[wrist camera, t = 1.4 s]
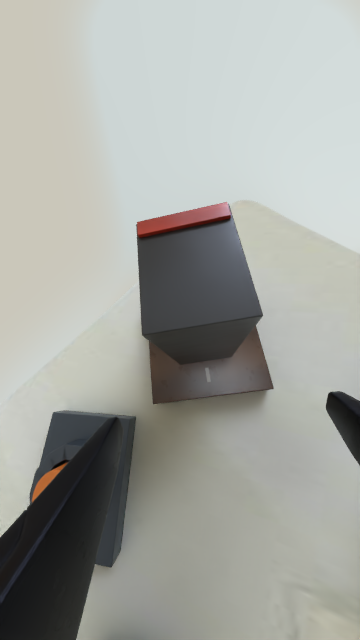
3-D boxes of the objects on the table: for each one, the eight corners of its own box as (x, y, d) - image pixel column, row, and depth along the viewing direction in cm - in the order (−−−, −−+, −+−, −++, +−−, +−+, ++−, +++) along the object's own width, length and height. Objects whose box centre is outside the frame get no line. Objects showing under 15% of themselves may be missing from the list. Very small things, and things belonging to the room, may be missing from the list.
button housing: (120, 551, 17) (99, 590, 14) (35, 533, 18) (-3, 565, 15) (136, 416, 20) (122, 422, 17) (64, 410, 22) (38, 414, 19)
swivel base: (267, 388, 19) (274, 388, 17) (157, 402, 21) (152, 404, 19) (239, 286, 24) (242, 276, 22) (150, 302, 25) (145, 294, 23)
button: (81, 515, 16) (66, 530, 14) (43, 509, 16) (25, 523, 14) (90, 464, 17) (77, 472, 15) (55, 459, 17) (39, 467, 16)
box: (231, 357, 19) (265, 313, 8) (179, 364, 20) (139, 334, 8) (218, 297, 22) (229, 198, 10) (172, 305, 22) (134, 219, 11)
